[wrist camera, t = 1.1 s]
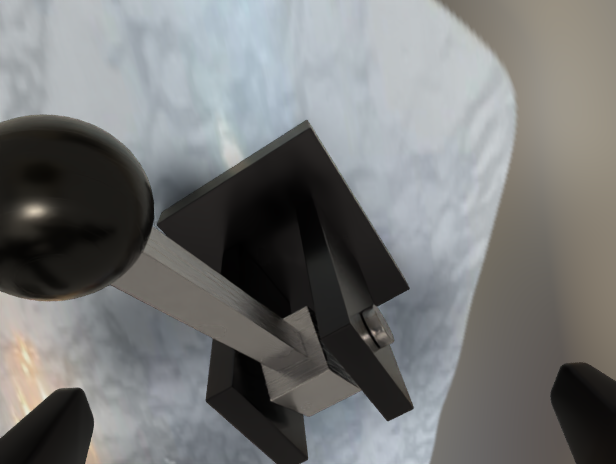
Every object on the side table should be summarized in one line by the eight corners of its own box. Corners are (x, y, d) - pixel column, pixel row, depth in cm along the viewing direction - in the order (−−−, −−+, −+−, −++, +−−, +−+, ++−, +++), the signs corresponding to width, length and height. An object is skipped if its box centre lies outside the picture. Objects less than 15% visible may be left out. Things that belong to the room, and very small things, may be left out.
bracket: (161, 212, 21) (95, 369, 12) (307, 119, 19) (349, 222, 11) (278, 342, 25) (291, 523, 17) (403, 274, 24) (485, 434, 15)
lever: (-83, 145, 8) (-149, 289, 6) (53, 42, 7) (33, 160, 5) (277, 354, 18) (299, 435, 16) (346, 316, 17) (379, 395, 15)
